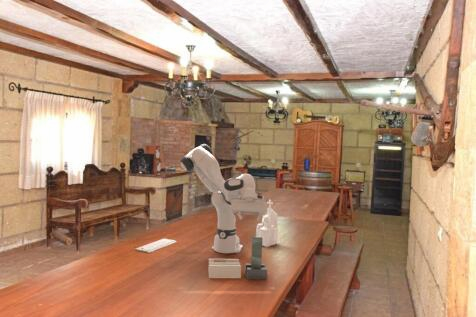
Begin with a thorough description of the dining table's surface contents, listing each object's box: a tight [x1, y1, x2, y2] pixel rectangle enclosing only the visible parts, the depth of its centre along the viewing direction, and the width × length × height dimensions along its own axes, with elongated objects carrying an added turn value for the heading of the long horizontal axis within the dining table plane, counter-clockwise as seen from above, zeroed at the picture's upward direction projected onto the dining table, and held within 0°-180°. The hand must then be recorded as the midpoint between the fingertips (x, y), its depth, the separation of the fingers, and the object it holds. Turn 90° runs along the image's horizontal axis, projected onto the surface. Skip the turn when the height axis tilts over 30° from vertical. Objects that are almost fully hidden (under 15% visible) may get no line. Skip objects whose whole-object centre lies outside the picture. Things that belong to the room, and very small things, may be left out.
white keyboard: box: [134, 238, 178, 254], centre depth 263 cm, size 31×3×12 cm
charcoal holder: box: [244, 262, 268, 281], centre depth 210 cm, size 10×10×6 cm
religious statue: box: [255, 199, 279, 248], centre depth 277 cm, size 17×14×30 cm
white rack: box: [207, 258, 242, 279], centre depth 212 cm, size 13×16×7 cm
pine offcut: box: [213, 257, 225, 262], centre depth 214 cm, size 3×5×7 cm, turn 96°
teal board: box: [250, 236, 263, 268], centre depth 210 cm, size 2×5×20 cm, turn 96°
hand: (249, 219), depth 222 cm, fingers open, 8 cm apart
